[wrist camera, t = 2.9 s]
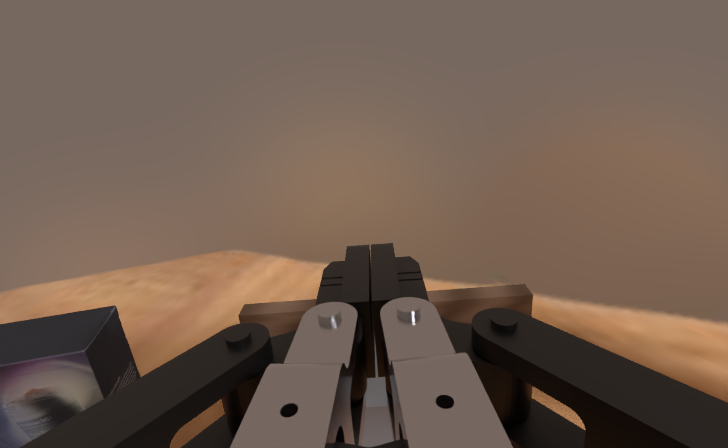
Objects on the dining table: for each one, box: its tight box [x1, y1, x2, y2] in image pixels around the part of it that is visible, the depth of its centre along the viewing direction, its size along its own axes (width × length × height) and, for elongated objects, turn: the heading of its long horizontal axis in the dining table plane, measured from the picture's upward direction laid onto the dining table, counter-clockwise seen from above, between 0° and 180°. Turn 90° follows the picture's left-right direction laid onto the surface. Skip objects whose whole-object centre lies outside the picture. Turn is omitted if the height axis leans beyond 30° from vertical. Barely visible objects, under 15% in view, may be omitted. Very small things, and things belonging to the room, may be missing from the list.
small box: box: [0, 306, 141, 448], centre depth 31 cm, size 11×6×10 cm, turn 102°
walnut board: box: [239, 284, 533, 337], centre depth 39 cm, size 28×2×6 cm, turn 90°
